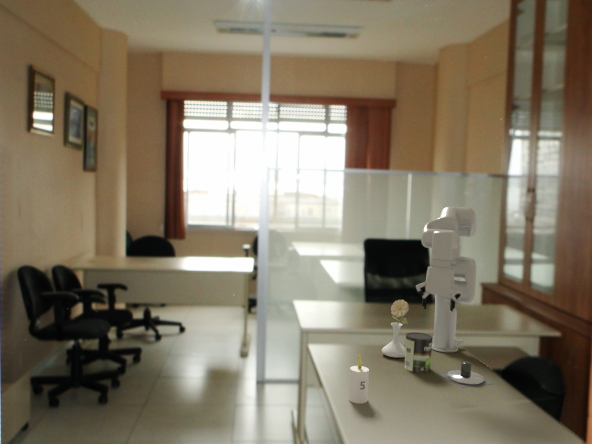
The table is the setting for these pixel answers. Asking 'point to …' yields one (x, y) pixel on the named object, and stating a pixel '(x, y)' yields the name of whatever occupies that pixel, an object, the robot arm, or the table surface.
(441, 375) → the mat
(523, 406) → the table surface
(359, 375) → the candle
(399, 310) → the flower in vase
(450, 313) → the robot arm
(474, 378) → the lid
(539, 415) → the table surface
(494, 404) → the table surface
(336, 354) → the table surface
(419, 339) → the coffee can
